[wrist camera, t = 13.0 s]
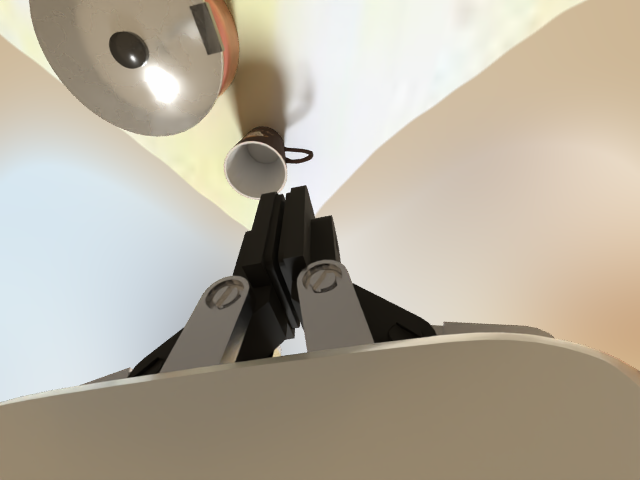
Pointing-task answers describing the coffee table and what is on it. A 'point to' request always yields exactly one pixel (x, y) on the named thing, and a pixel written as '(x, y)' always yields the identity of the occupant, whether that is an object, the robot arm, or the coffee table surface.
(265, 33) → the coffee table surface
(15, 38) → the coffee table surface
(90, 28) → the cooker lid
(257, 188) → the coffee mug
